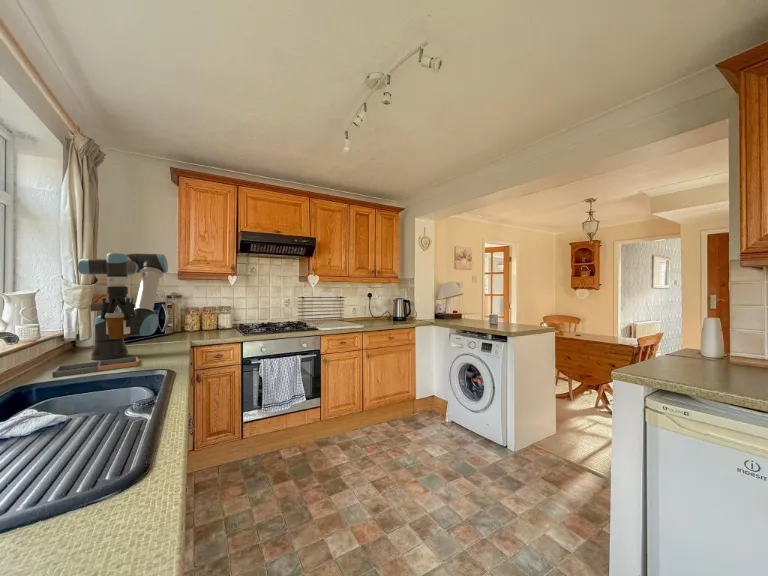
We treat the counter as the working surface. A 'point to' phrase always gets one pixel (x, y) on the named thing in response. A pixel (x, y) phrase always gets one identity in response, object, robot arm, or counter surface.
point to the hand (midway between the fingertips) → (118, 333)
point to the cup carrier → (97, 363)
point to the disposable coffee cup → (115, 325)
